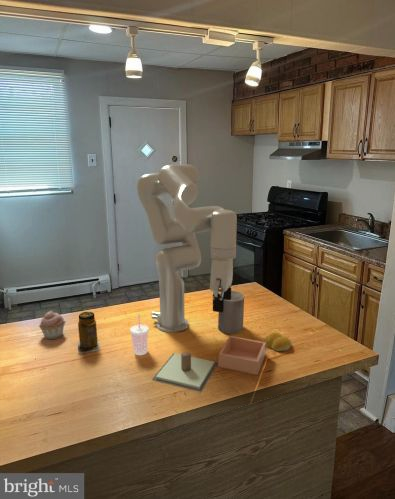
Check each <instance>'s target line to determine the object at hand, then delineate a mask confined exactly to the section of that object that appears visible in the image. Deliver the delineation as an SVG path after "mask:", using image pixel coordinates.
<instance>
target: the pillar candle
mask: <svg viewBox="0 0 395 499" xmlns="http://www.w3.org/2000/svg"><path fill="white" fill-rule="evenodd" d="M219 293H220V296H221V292H219ZM244 311H245V296H244V294H243V293H241V292H240V291H237V290H231V300H225V299H224V311H223V312H217V313H218V314H217V316H218V319H217V320H218V322H217V323H218V324H217V328H218V330H219V331H220V332H221V333H223V334H227V335H237V334H239V333H241V332H242V331H243V329H244V317H245V316H244V314H245V313H244Z"/></svg>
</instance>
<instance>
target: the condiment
mask: <svg viewBox="0 0 395 499" xmlns="http://www.w3.org/2000/svg"><path fill="white" fill-rule="evenodd" d="M77 327H78V338H79V341H77V342H76V343H77V344H76V345H77V351H78V354H88V353H92V352H98V351H101V346H100V341H99V338H98V330H97V321H96V318H95V313H94V312H92V311H83V312H81V313H79V315H78V323H77Z"/></svg>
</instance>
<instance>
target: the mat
mask: <svg viewBox="0 0 395 499" xmlns="http://www.w3.org/2000/svg"><path fill="white" fill-rule="evenodd" d="M175 353H176V352H175ZM175 353H172V354H171V356H170V357H169V358H168V359H167V360H166V361H165V363H164V364H163V365H162V366H161V367H160V369H159V370H158V371H157V373H155V375H154V376H153V378H151V381H153V382H158V383H162V384H166V385H170V386H175V387H179V388H183V389H187V390H192V391H194V392H199V393H202V392H203V391H204V389H205V387H206V385H207V383H208V382H209V380H210V378H211V376H212V375H213V373H214V371H215V370H216V368H217V367H218V362H217V361H214V362H215V364H214V365H213V367H212V369H211V370H210V372H209V374H208V376H207V377H206V379H205V381H204V382H203V384H202V386H201V387H200V389H197V388H192V387H188V386H184V385H180V384H176V383H172V382H167V381H163V380H159V379H156V376H157V374H158V373H159V372H160V371H161V370H162V368H163V367H164V366H165V365H166V363H167V362H168V361H169V360H170V359H171V357H172V356H173V355H174V354H175Z"/></svg>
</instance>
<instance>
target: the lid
mask: <svg viewBox="0 0 395 499" xmlns="http://www.w3.org/2000/svg"><path fill="white" fill-rule="evenodd" d="M171 356H172V355H171ZM171 356H170V357H171ZM166 362H167V361H166ZM166 362H165V363H166ZM215 362H216V361H213V360H208V359H203V358H200V357H195V356H192V352H191V353H190V352H189V351H183V352H182V353H181V354H180V353H176V352H175V354H174V355H173V356H172V357H171V359H170V360H169V361H168V362H167V363H166V365H165V366H164V367H163V368H162V367H161V368H162V370H161V371H160V372H159V373H158V372H157V373H158V374H157V373H156V374H157V376H156V379H159V380H163V381H167V382H172V383H176V384H180V385H184V386H188V387H192V388H197V389H200V387H201V386H202V384H203V382H204V381H205V379H206V377H207V376H208V374H209V372H210V370H211V369H212V367H213V365H214V364H215Z"/></svg>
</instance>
